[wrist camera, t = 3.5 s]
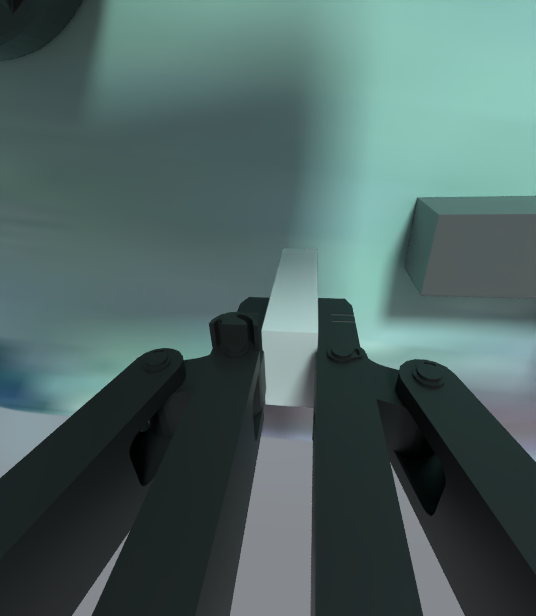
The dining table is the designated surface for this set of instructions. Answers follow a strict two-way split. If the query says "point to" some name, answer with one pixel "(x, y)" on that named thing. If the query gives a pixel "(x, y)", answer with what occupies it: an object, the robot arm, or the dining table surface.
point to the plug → (474, 247)
